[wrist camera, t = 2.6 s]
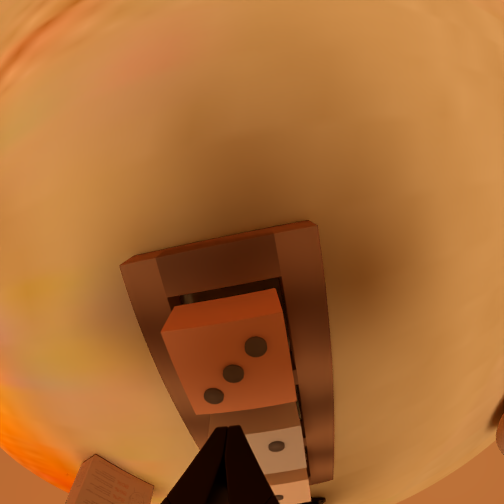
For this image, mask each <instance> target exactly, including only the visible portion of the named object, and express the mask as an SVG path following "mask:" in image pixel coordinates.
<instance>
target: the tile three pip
mask: <svg viewBox="0 0 504 504" xmlns="http://www.w3.org/2000/svg"><path fill="white" fill-rule="evenodd" d="M161 335H162V338H163V340H164V343H165V345H166V348H167V350H168V353H169V355H170V358H171V360H172V363H173V365H174V368H175V370H176V372H177V375H178V377H179V379H180V382H181V384H182V386H183V388H184V391H185V393H186V395H187V397H188V399H189V401H190V404H191V406H192V408H193V410H194V412H195V414H196V415H201V414H214V413H224V412H233V411H241V410H249V409H256V408H262V407H268V406H274V405H280V404H285V403H290V402H295V401H297V396H296V390H295V384H294V377H293V371H292V365H291V359H290V352H289V346H288V340H287V334H286V328H285V322H284V317H283V311H282V308H281V305H280V301H279V298H278V295H277V291H276V288H273V289H268V290H263V291H258V292H253V293H247V294H242V295H237V296H231V297H226V298H220V299H215V300H209V301H203V302H197V303H192V304H186V305H179V306H174V308H173V310H172V312H171V313H170V315H169V317H168V319H167V321H166V323H165V325H164V326H163V328H162V330H161Z"/></svg>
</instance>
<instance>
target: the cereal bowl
mask: <svg viewBox="0 0 504 504" xmlns="http://www.w3.org/2000/svg"><path fill="white" fill-rule="evenodd" d="M496 441H497V445H498V447H499V449H500V450H501V452H502V453H503V455H504V413H503V415H502V417H501V420H500V422H499V425H498V427H497V432H496Z"/></svg>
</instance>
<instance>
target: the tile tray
mask: <svg viewBox="0 0 504 504" xmlns="http://www.w3.org/2000/svg"><path fill="white" fill-rule="evenodd" d="M120 270H121V273H122V276H123V279H124V282H125V286H126V289H127V292H128V295H129V298H130V301H131V303H132V306H133V309H134V312H135V315H136V317H137V320H138V323H139V325H140V328H141V331H142V333H143V336H144V338H145V341H146V343H147V346H148V348H149V350H150V353H151V355H152V357H153V360H154V362H155V364H156V367H157V369H158V371H159V373H160V375H161V378H162V380H163V382H164V384H165V386H166V388H167V390H168V392H169V394H170V396H171V398H172V400H173V402H174V404H175V406H176V408H177V410H178V412H179V414H180V416H181V418H182V419H183V421H184V423H185V425H186V427H187V428H188V430H189V432H190V434H191V436H192V437H193V439H194V441H195V442H196V444H197V446H198V447H199V449H200V450H201V448H202V447H203V445H204V444H205V443H206V441H207V440H208V432H209V423H210V415H211V414H201V415H196V414H195V412H194V410H193V408H192V406H191V404H190V401H189V399H188V397H187V395H186V393H185V391H184V388H183V386H182V384H181V382H180V379H179V377H178V375H177V372H176V370H175V368H174V365H173V363H172V360H171V358H170V355H169V353H168V350H167V348H166V345H165V343H164V340H163V338H162V335H161V330H162V328H163V326H164V325H165V323H166V321H167V319H168V317H169V315H170V313H171V312H172V310H173V308H174V306H179V305H182V303H181V300H180V297H179V295H185V294H190V293H196V292H202V291H207V290H213V289H218V288H223V287H229V286H234V285H239V284H245V283H250V282H255V281H260V280H265V279H270V278H275V277H279V280H280V286H281V292H282V298H283V303H284V309H285V315H286V321H287V327H288V333H289V339H290V346H291V351H289V352H290V359H291V365H292V371H293V377H294V384H295V385H297V391H298V398H299V404H300V411H301V418H302V419H301V420H300V424H301V430H302V436H303V444H304V446H305V448H306V455H307V461H306V465H307V467H306V470H307V475H308V480H309V485H313V484H317V483H322V482H326V481H330V480H333V468H334V399H333V374H332V356H331V341H330V328H329V316H328V306H327V296H326V286H325V278H324V269H323V261H322V254H321V246H320V239H319V232H318V225H316V224H314V223H312V222H310V221H309V220H306V221H301V222H295V223H290V224H285V225H280V226H275V227H269V228H264V229H259V230H254V231H249V232H244V233H239V234H234V235H229V236H224V237H219V238H215V239H210V240H205V241H200V242H195V243H191V244H186V245H181V246H177V247H172V248H167V249H163V250H158V251H154V252H149V253H145V254H140V255H136V256H133V257H131V258H130V259H128V260H127V261H125V262H124V263H122V264H121V265H120Z"/></svg>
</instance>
